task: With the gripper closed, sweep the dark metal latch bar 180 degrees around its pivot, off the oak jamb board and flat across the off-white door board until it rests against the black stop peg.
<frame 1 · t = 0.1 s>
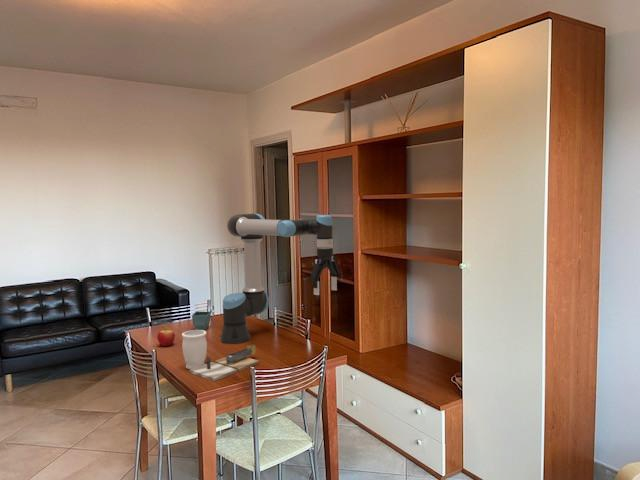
hand: (325, 292, 227), 28 cm above the table, fingers open, 13 cm apart
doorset: (225, 367, 208), on the table
jar: (195, 366, 210), on the table
apple: (166, 345, 241), on the table
flower pot: (202, 329, 271), on the table
latch bar: (240, 353, 214), point 4 cm above the table, hinge at 90.0°
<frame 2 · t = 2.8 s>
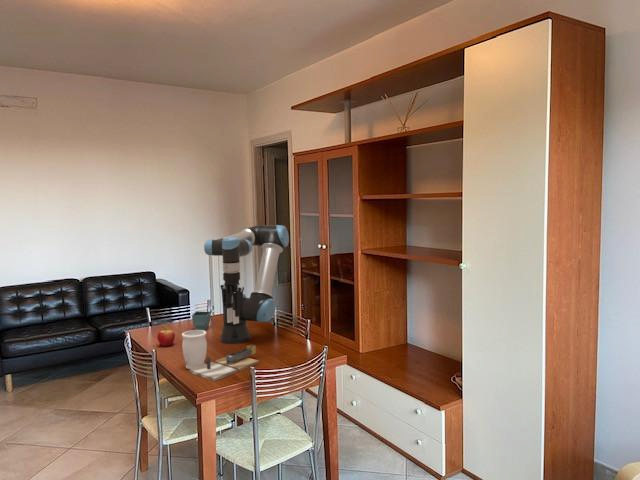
hand: (233, 322, 219), 17 cm above the table, fingers open, 3 cm apart
nothing on the table moved.
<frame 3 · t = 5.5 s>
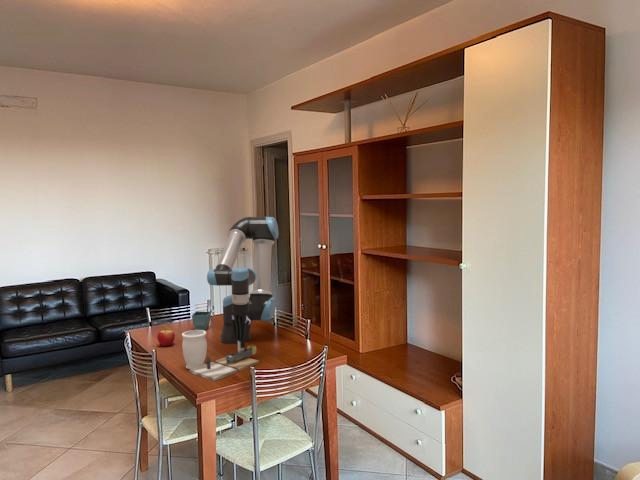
hand: (241, 354, 217), 3 cm above the table, fingers closed
latch bar: (240, 353, 214), point 4 cm above the table, hinge at 87.5°, touching gripper
everything else where it was.
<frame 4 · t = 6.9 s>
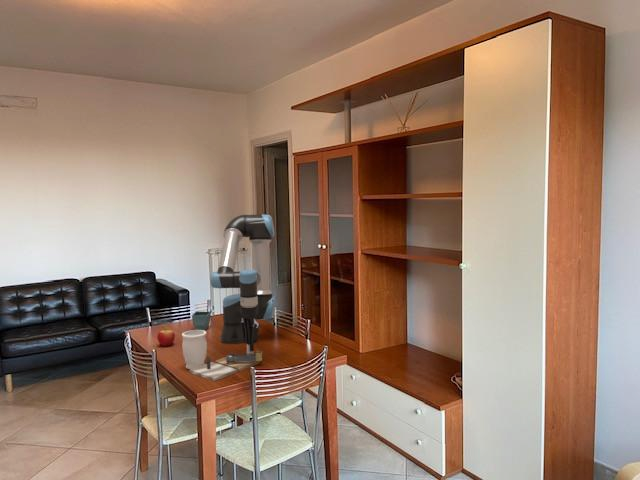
hand: (250, 357, 213), 2 cm above the table, fingers closed
latch bar: (243, 356, 210), point 4 cm above the table, hinge at 40.8°, touching gripper
everything else where it was.
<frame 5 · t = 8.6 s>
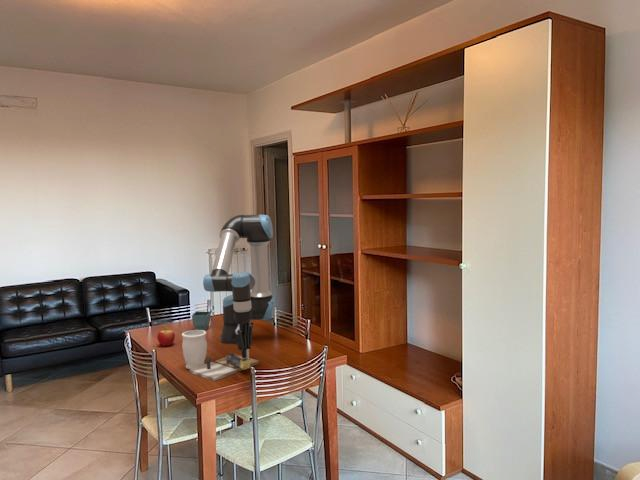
hand: (245, 364, 205), 2 cm above the table, fingers closed
latch bar: (237, 360, 205), point 4 cm above the table, hinge at -12.5°, touching gripper
everything else where it was.
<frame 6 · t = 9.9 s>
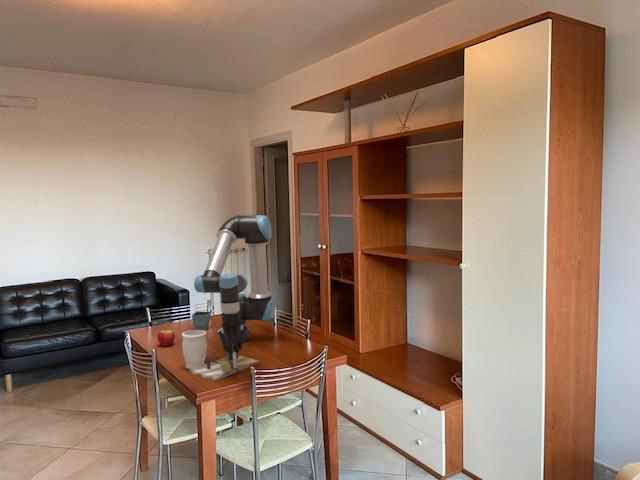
hand: (234, 366, 202), 3 cm above the table, fingers closed
latch bar: (228, 361, 204), point 4 cm above the table, hinge at -49.8°, touching gripper
everything else where it was.
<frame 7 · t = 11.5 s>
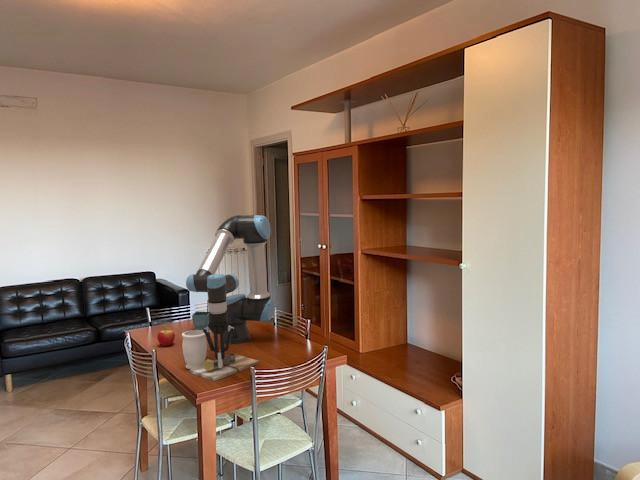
hand: (220, 366, 202), 3 cm above the table, fingers closed
latch bar: (220, 360, 205), point 4 cm above the table, hinge at -88.5°, touching gripper
everything else where it was.
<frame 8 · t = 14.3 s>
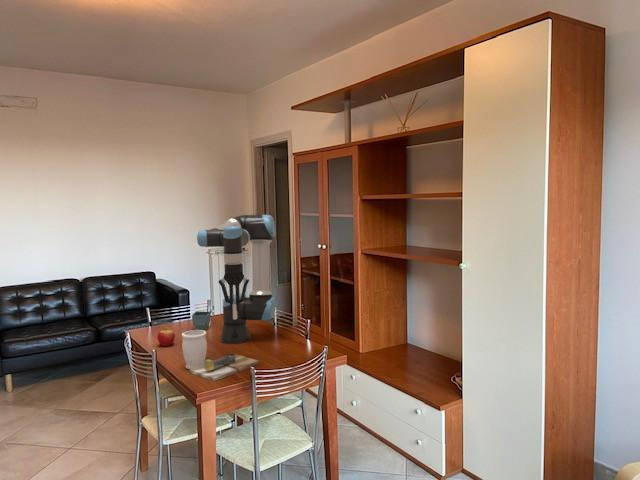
hand: (235, 318, 203), 22 cm above the table, fingers closed
latch bar: (220, 360, 205), point 4 cm above the table, hinge at -88.5°
everything else where it was.
at the end: latch bar at -88° (first picture: +90°) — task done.
